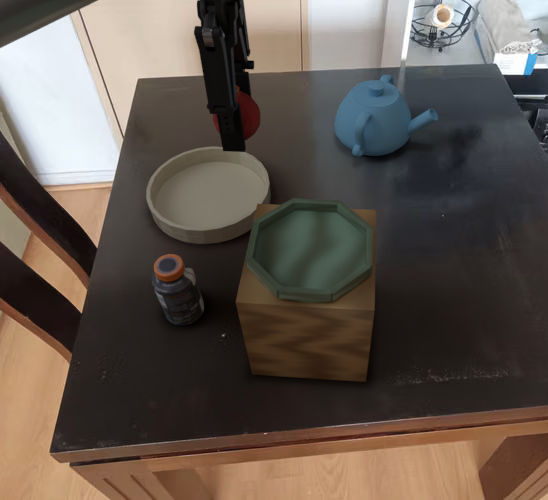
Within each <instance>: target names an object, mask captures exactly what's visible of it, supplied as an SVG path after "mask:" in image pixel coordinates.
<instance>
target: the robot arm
mask: <svg viewBox="0 0 548 500" xmlns="http://www.w3.org/2000/svg"><path fill="white" fill-rule="evenodd" d="M95 2H99V0H0V49H2V48H4V47H6V46H8V45H11V44H12V43H14V42H16V41H18V40H20V39H22V38H24V37H26V36H29V35H31V34H33V33H34V32H36V31H38V30H40V29H43V28H45V27H47V26H49V25H50V24H53V23H55V22H56V21H59V20H62V19H63V18H65V17H67V16H70V15H71V14H74V13H76V12H78V11H80V10H82V9H83V8H85V7H87V6H89V5H91V4H94V3H95ZM196 12H197V13H196V14H197V17H198V19H199V21H200V25H195V26H194V29H193V36H194V39H195V42H196V45H197V49H198V52H199V58H200V64H201V70H202V76H203V81H204V87H205V93H206V99H207V104H206V109H207V110H208V112H209V114H210V115H213V114H217V120H218V125H219V131H220V134H219V135H220V143H221V147H222V148H223V151H231V152H246V150H247V146H246V140H245V138H244V131H243V123H242V116H241V109H240V103H237V98H236V85H237V86H238V87H239V88H240V89H239V91H241V92H243V93H246V94H247V95H249V96H250V97H251V98H252V99H253V97H252V89H251V82H250V81H251V80H250V72H249V71H246V70H253V71H254V70H255V60H249V59H248V57H250V56H251V48H250V43H249V33H248V25H247V17H246V9H245V1H244V0H196Z"/></svg>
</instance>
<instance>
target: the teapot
mask: <svg viewBox="0 0 548 500" xmlns="http://www.w3.org/2000/svg"><path fill="white" fill-rule="evenodd" d="M438 120H439V116H438V113H437V112H436V110H435V109H434V108H431V107H430V108H428V109H427V110H426V111H424V112H422V113H421V114H419V115H417V116H416V117H414V118H412V114H411V111H410V107H409V105H408V102H407V101H406V100H405V98H404V96H403V94H402V93H401V91H400V90H399V88H398V87H396V86H395V85H394V77H393V76H392V75H390V74H388V73H387V74H383V75H382V76H381V77H380V79H379V80H378V79H375V80H374V79H369V80H364V81H362V82H359V83H357V84H356V85H355V86H354V87H352V88H351V90H349V92H348V93H347V95H346V96H344V98H343V100H342V101H341V103H340V105H339V107H338V109H337V111H336V114H335V118H334V125H333V126H334V127H333V128H334V133H335V135H336V138H338V140H339V141H340V142H341V143H342V144H343V145H344V146H345V147H346V148H348V149H349V150H351V153H352V155H353V156H354V157H356V158H359V157H362V156H363V155H364V156H370V157H372V156H373V157H380V156H385V155H389V154H392V153H394V152H396V151H398V150H399V149H400V148H402V147H403V146H404V145H405V144H406V143H407V142H408V141H409V139H410V137H411V135H413V134H415V133H416V132H419V131H420V130H422V129H423V128H425V127H428V126H429V125H431V124H433V123H434V122H436V121H438Z"/></svg>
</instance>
